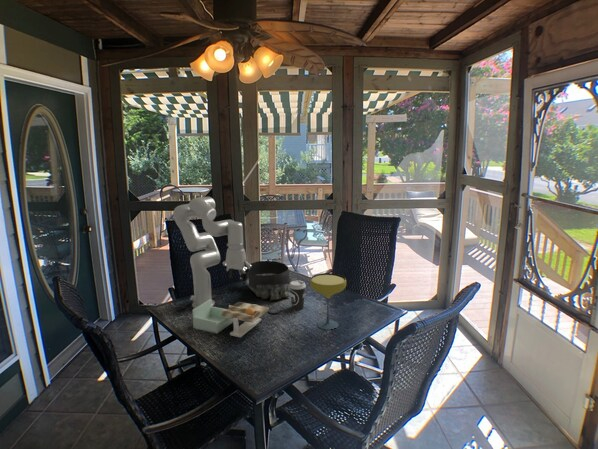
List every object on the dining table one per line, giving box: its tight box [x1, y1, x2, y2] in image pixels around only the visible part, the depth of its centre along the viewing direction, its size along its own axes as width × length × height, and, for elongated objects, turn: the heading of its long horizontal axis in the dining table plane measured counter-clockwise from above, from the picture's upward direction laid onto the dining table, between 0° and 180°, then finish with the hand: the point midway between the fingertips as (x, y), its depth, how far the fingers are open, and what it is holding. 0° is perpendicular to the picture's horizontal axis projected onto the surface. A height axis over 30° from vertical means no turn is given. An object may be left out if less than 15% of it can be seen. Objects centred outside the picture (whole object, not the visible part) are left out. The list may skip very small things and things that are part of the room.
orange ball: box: [246, 308, 254, 315], centre depth 185 cm, size 4×4×4 cm
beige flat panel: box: [221, 301, 270, 323], centre depth 191 cm, size 18×16×3 cm
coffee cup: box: [289, 280, 307, 311], centre depth 214 cm, size 10×10×15 cm
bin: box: [191, 299, 233, 334], centre depth 195 cm, size 15×15×10 cm
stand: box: [229, 303, 262, 338], centre depth 192 cm, size 6×20×9 cm, turn 155°
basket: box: [245, 260, 291, 302], centre depth 238 cm, size 28×35×16 cm
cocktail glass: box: [309, 272, 347, 331], centre depth 192 cm, size 18×18×25 cm
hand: (237, 279), depth 195 cm, fingers open, 8 cm apart
